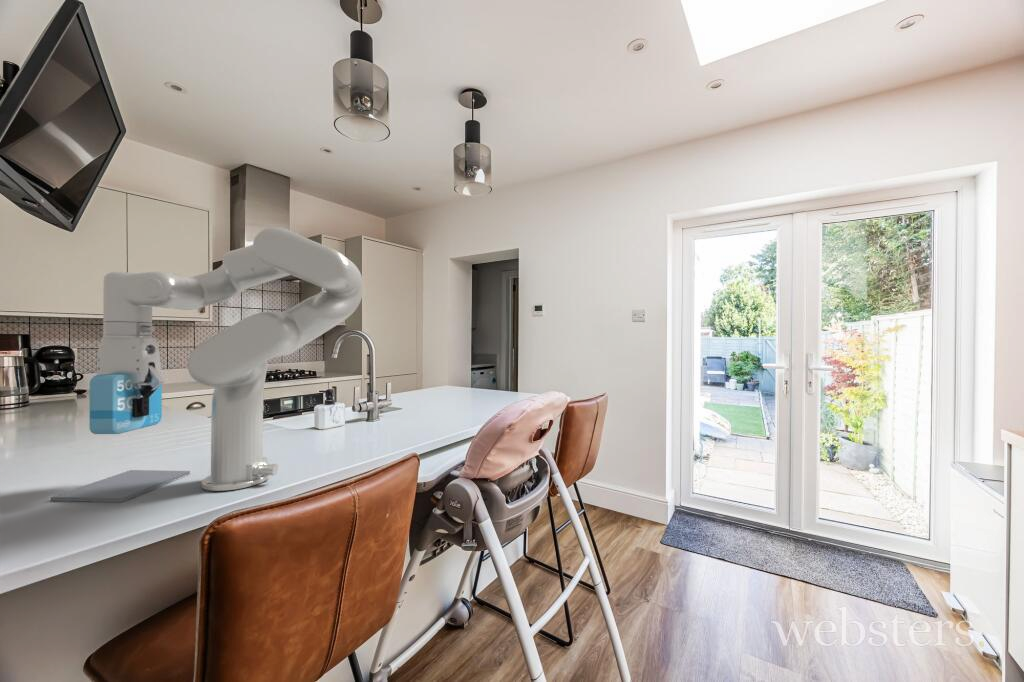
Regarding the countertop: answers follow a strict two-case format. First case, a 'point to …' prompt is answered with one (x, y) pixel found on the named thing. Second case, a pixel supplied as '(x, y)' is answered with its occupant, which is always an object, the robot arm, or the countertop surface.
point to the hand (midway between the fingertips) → (128, 415)
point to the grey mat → (121, 486)
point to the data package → (119, 405)
